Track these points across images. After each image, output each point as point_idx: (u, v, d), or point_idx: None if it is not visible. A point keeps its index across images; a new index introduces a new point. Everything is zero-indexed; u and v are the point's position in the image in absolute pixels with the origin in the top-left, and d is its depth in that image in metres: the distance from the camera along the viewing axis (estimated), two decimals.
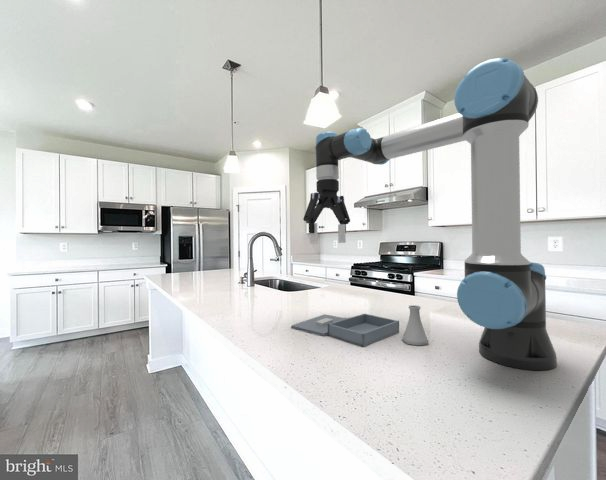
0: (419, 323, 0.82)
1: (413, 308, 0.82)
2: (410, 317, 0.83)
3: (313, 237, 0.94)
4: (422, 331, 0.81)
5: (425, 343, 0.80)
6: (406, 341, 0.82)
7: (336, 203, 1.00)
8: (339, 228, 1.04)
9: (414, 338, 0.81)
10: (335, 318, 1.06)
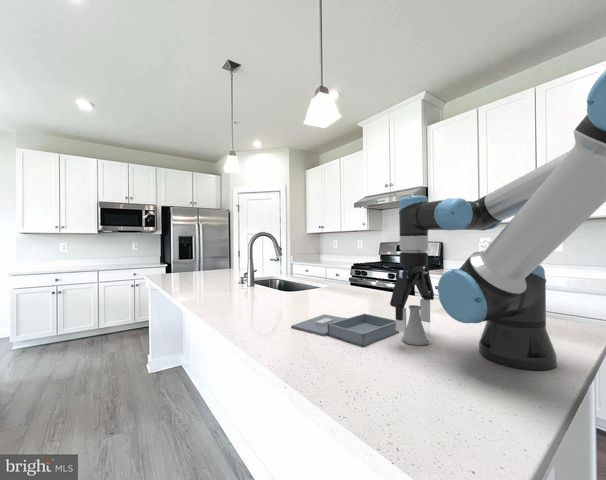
0: (419, 323, 0.82)
1: (413, 308, 0.82)
2: (410, 317, 0.83)
3: (401, 324, 0.79)
4: (422, 331, 0.81)
5: (425, 343, 0.80)
6: (406, 341, 0.82)
7: (423, 278, 0.84)
8: (422, 304, 0.88)
9: (414, 338, 0.81)
10: (335, 318, 1.06)
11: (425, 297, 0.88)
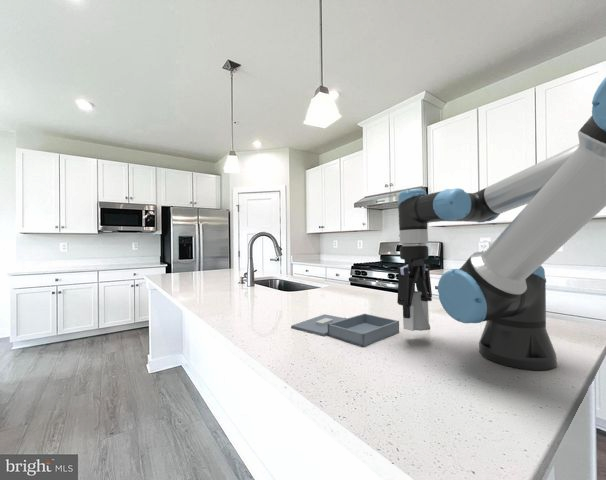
0: (421, 309, 0.81)
1: (414, 293, 0.82)
2: None
3: (408, 322, 0.79)
4: (424, 316, 0.80)
5: (427, 328, 0.79)
6: None
7: (423, 273, 0.83)
8: None
9: (416, 323, 0.80)
10: (335, 318, 1.06)
11: (423, 298, 0.86)
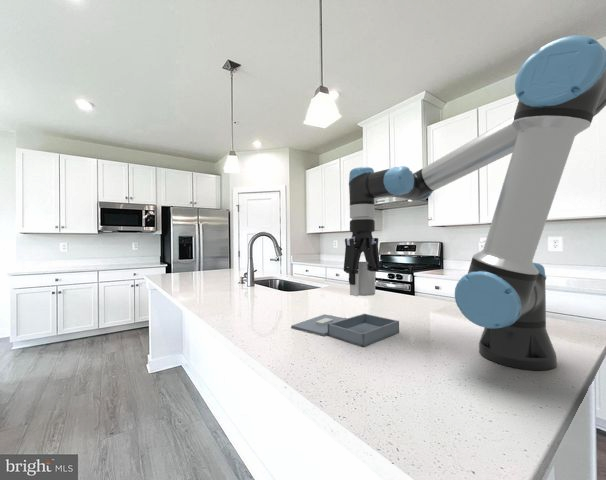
0: (366, 276, 0.89)
1: (361, 263, 0.89)
2: (358, 271, 0.90)
3: (354, 288, 0.87)
4: (368, 283, 0.88)
5: (370, 294, 0.87)
6: None
7: (370, 245, 0.90)
8: None
9: (361, 289, 0.88)
10: (335, 318, 1.06)
11: (371, 269, 0.93)
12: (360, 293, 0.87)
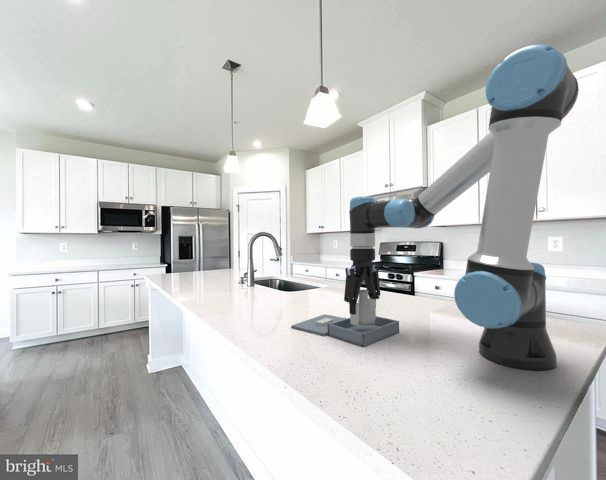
0: (366, 305, 0.89)
1: (361, 292, 0.89)
2: (359, 300, 0.90)
3: (354, 318, 0.87)
4: (369, 313, 0.88)
5: (371, 323, 0.87)
6: None
7: (371, 274, 0.90)
8: None
9: (361, 319, 0.88)
10: (335, 318, 1.06)
11: (371, 296, 0.94)
12: (360, 322, 0.88)
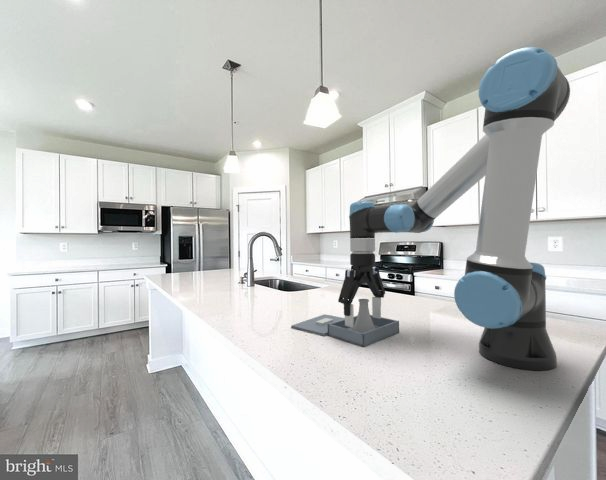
0: (367, 315, 0.89)
1: (361, 301, 0.89)
2: (359, 309, 0.90)
3: (349, 319, 0.85)
4: (369, 322, 0.88)
5: None
6: None
7: (372, 277, 0.91)
8: (373, 301, 0.95)
9: (362, 328, 0.88)
10: (335, 318, 1.06)
11: (376, 295, 0.95)
12: (361, 332, 0.87)
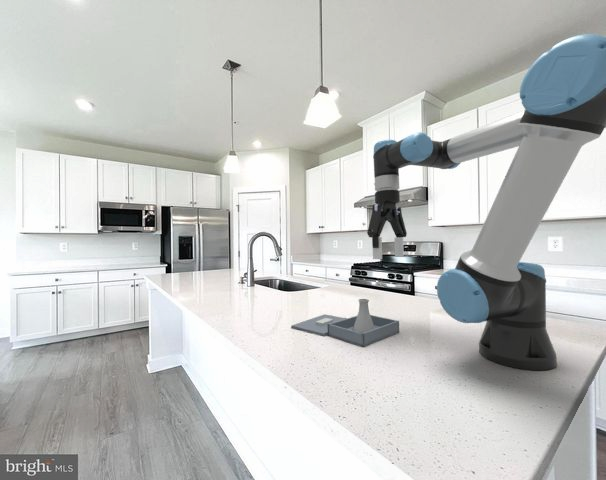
0: (367, 315, 0.89)
1: (361, 301, 0.89)
2: (359, 309, 0.90)
3: (377, 252, 0.88)
4: (369, 322, 0.88)
5: None
6: None
7: (396, 215, 0.94)
8: (396, 241, 0.98)
9: (362, 328, 0.88)
10: (335, 318, 1.06)
11: (399, 235, 0.98)
12: (361, 332, 0.87)
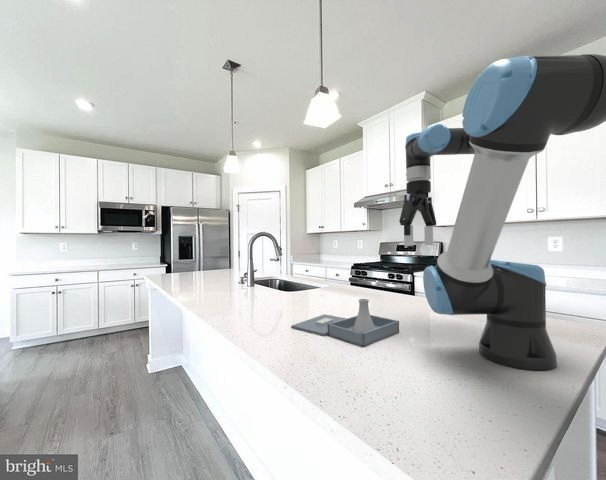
0: (367, 315, 0.89)
1: (361, 301, 0.89)
2: (359, 309, 0.90)
3: (408, 239, 0.93)
4: (369, 322, 0.88)
5: None
6: None
7: (427, 204, 0.98)
8: (426, 230, 1.02)
9: (362, 328, 0.88)
10: (335, 318, 1.06)
11: (428, 224, 1.02)
12: (361, 332, 0.87)
